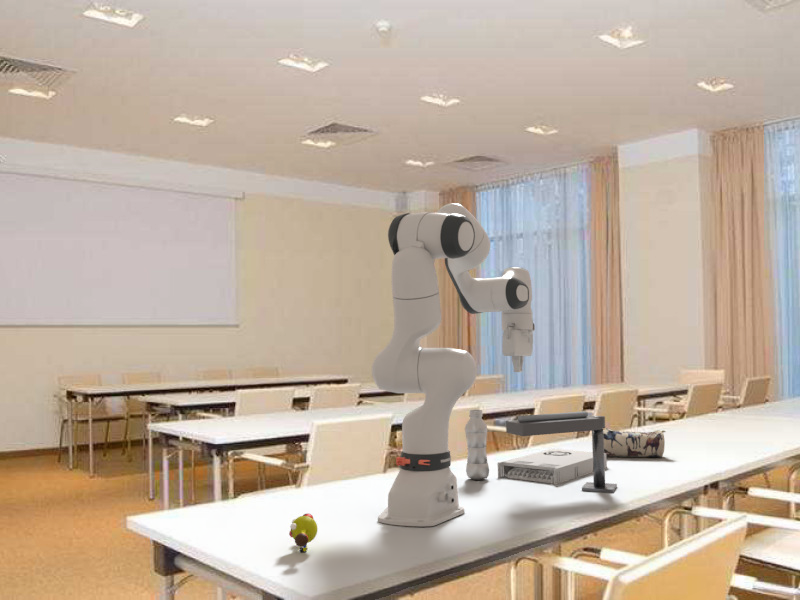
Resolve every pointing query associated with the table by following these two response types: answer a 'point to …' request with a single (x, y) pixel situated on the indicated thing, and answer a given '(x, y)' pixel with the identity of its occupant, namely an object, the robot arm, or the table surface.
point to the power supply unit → (549, 466)
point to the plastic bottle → (476, 446)
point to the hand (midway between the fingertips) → (518, 372)
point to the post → (598, 466)
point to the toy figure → (303, 531)
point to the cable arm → (554, 423)
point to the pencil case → (633, 443)
